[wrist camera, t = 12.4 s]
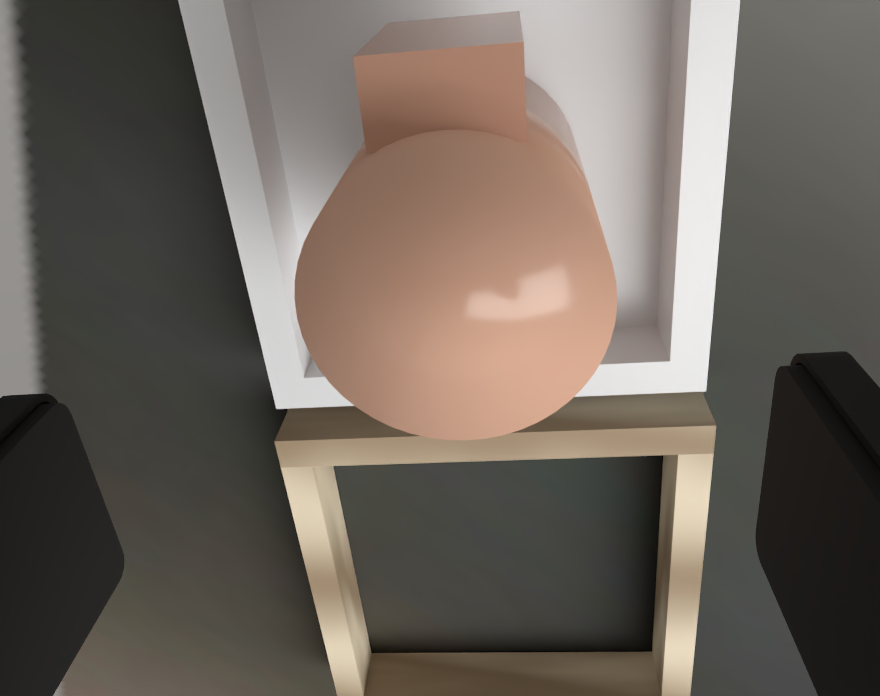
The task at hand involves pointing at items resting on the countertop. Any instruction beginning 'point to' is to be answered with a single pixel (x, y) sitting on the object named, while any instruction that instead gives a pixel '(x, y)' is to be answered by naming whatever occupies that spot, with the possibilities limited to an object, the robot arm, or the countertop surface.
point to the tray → (563, 78)
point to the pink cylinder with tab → (457, 241)
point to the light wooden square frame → (557, 436)
